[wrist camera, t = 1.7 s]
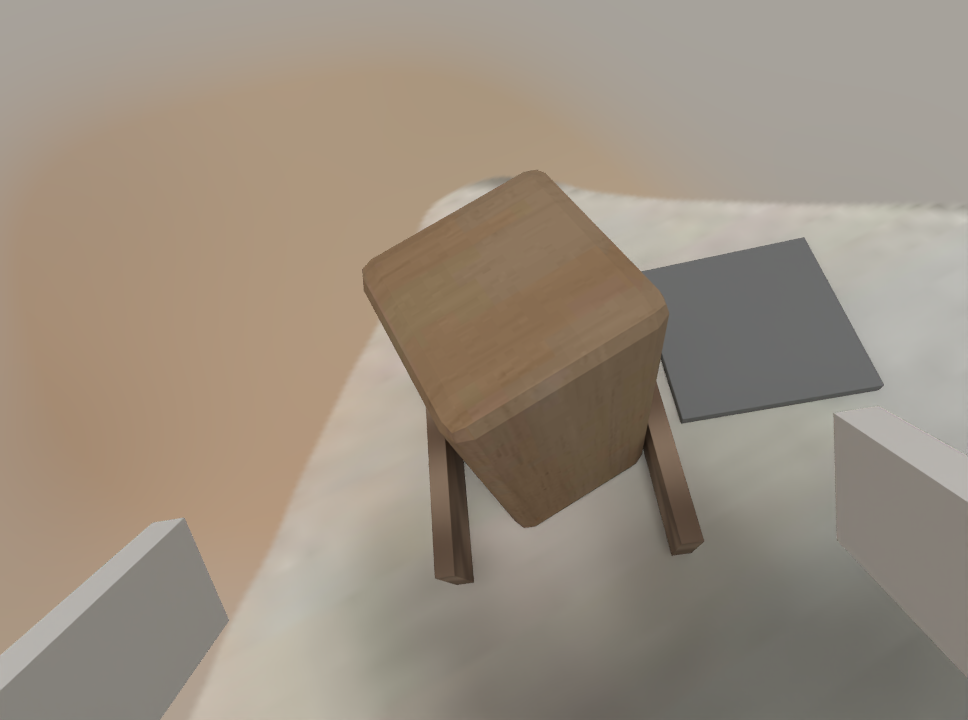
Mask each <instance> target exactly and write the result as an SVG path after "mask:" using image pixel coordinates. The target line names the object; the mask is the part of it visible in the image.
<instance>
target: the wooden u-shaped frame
mask: <svg viewBox="0 0 968 720" xmlns="http://www.w3.org/2000/svg"><path fill="white" fill-rule="evenodd" d="M426 417H427V436H428V455H429V474H430V493H431V513H432V532H433V551H434V570H435V579H439V580H442V581H446V582H449V583H452V584H456V585H459V584H466V583H473V582H474V578H473V567H472V555H471V543H470V532H469V520H468V509H467V497H466V486H465V474H464V462H463V459H462V458H461V457H460V455H459V454H458V453H457V452H456V451H455V449H454V448H453V447H452V446H451V445H450V444H449V442H448V441H447V440H446V439H445V438H444V437H443V435H442V434H441V433H440V432H439V430H438V428H437V426H436V424H435V422H434V421H433V419H432V417H431V415H430V413H429V411H428V409H427V407H426ZM643 449H644V453H645V457H646V461H647V464H648V468H649V472H650V476H651V479H652V483H653V487H654V491H655V494H656V498H657V502H658V506H659V509H660V513H661V517H662V521H663V524H664V528H665V532H666V536H667V539H668V543H669V547H670V551H671V554H672V556H673V555H680V554H687V553H692V552H693V551H694V550H695V549H696V548H697V547H698V546H699V545H701V544H702V543H703V542H704V539H703V536H702V532H701V529H700V526H699V522H698V519H697V516H696V512H695V509H694V506H693V502H692V499H691V496H690V492H689V489H688V486H687V482H686V479H685V476H684V472H683V469H682V466H681V462H680V459H679V456H678V452H677V449H676V446H675V442H674V439H673V436H672V432H671V429H670V426H669V422H668V419H667V416H666V412H665V409H664V406H663V402H662V399H661V396H660V392H659V389H658V386H657V382H656V384H655V389H654V394H653V399H652V404H651V409H650V414H649V420H648V425H647V430H646V435H645V440H644V445H643Z"/></svg>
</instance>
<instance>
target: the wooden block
mask: <svg viewBox="0 0 968 720" xmlns="http://www.w3.org/2000/svg"><path fill="white" fill-rule="evenodd" d="M362 273H363V285H364V292H365V293H366V295H367V297H368V299H369V301H370V302H371V305H372V306H373V308H374V310H375V312H376V314H377V316H378V318H379V320H380V321H381V323H382V325H383V327H384V329H385V331H386V333H387V335H388V336H389V338H390V340H391V342H392V344H393V346H394V348H395V349H396V351H397V353H398V355H399V357H400V359H401V361H402V363H403V364H404V366H405V368H406V370H407V372H408V374H409V376H410V378H411V379H412V381H413V383H414V385H415V387H416V389H417V391H418V392H419V394H420V396H421V398H422V400H423V402H424V404H425V406H426V407H427V409H428V411H429V413H430V415H431V417H432V419H433V421H434V422H435V424H436V426H437V428H438V430H439V432H440V433H441V434H442V435H443V437H444V438H445V439H446V440H447V441H448V442H449V444H450V445H451V446H452V447H453V448H454V449H455V451H456V452H457V453H458V454H459V455H460V457H461V458H462V459H463V460H464V461H465V462H466V464H467V465H468V466H469V467H470V468H471V469H472V471H473V472H474V473H475V474H476V475H477V477H478V478H479V479H480V480H481V481H482V482H483V484H484V485H485V486H486V487H487V488H488V489H489V491H490V492H491V493H492V494H493V495H494V497H495V498H496V499H497V500H498V501H499V502H500V504H501V505H502V506H503V507H504V508H505V509H506V511H507V512H508V513H509V514H510V515H511V517H512V518H513V519H514V520H515V521H516V522H517V523H519V524H520V525H521V526H522V527H524V528H526V527H533V526H536V525H538V524H540V523H541V522H543V521H544V520H546V519H548V518H549V517H551V516H552V515H554V514H556V513H557V512H559V511H560V510H562V509H564V508H565V507H567V506H568V505H570V504H572V503H573V502H575V501H576V500H578V499H580V498H581V497H583V496H584V495H586V494H588V493H589V492H591V491H592V490H594V489H596V488H597V487H599V486H600V485H602V484H604V483H605V482H607V481H608V480H610V479H612V478H613V477H615V476H616V475H618V474H620V473H621V472H623V471H624V470H626V469H628V468H629V467H631V466H632V465H634V464H636V462H637V461H638V459H639V458H640V456H641V455H642V450H643V445H644V440H645V435H646V430H647V425H648V420H649V414H650V409H651V404H652V399H653V394H654V389H655V384H656V379H657V374H658V369H659V364H660V359H661V353H662V348H663V343H664V338H665V333H666V328H667V323H668V318H669V311H668V308H667V305H666V302H665V299H664V296H663V295H662V294H661V292H660V291H659V290H658V289H657V288H656V287H655V285H654V284H653V283H652V282H651V281H650V280H649V279H648V278H647V277H646V276H645V275H644V274H643V273H642V272H641V271H640V270H639V269H638V268H637V267H636V266H635V265H634V264H633V263H632V262H631V261H630V260H629V259H628V258H627V257H626V256H625V255H624V254H623V253H622V252H621V251H620V249H619V248H618V247H617V246H616V245H615V244H614V243H613V242H612V241H611V240H610V239H609V238H608V237H607V236H606V235H605V234H604V233H603V232H602V231H601V230H600V229H599V228H598V227H597V226H596V225H595V224H594V223H593V222H592V221H591V220H590V219H589V218H588V217H587V216H586V215H585V213H584V212H583V211H582V210H581V209H580V208H579V207H578V206H577V205H576V204H575V203H574V202H573V201H572V200H571V199H570V198H569V197H568V196H567V195H566V194H565V193H564V192H563V191H562V190H561V189H560V188H559V187H558V186H557V185H556V184H555V183H554V182H553V181H552V180H551V179H550V178H549V176H548V175H547V174H546V173H544V172H541V171H538V170H533V171H528V172H523V173H521V174H520V175H518V176H516V177H514V178H513V179H511V180H509V181H507V182H506V183H504V184H502V185H500V186H499V187H497V188H495V189H493V190H492V191H490V192H488V193H486V194H485V195H483V196H481V197H479V198H478V199H476V200H474V201H473V202H471V203H469V204H467V205H466V206H464V207H462V208H460V209H459V210H457V211H455V212H453V213H452V214H450V215H448V216H446V217H445V218H443V219H441V220H439V221H438V222H436V223H434V224H432V225H431V226H429V227H427V228H425V229H424V230H422V231H420V232H418V233H417V234H415V235H413V236H411V237H410V238H408V239H406V240H404V241H403V242H401V243H399V244H398V245H396V246H394V247H392V248H390V249H389V250H387V251H385V252H383V253H382V254H380V255H378V256H377V257H375V258H373V259H371V260H370V261H369V263H368V264H367V265H366V266H365V267H364V268H363V269H362Z"/></svg>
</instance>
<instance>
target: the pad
mask: <svg viewBox="0 0 968 720" xmlns="http://www.w3.org/2000/svg"><path fill="white" fill-rule="evenodd" d="M642 273H643V274H644V275H645V276H646V277H647V278H648V279H649V280H650V281H651V282H652V283H653V284H654V285H655V287H656V288H657V289H658V290H659V291H660V292H661V294H662V295H663V296H664V299H665V302H666V305H667V308H668V311H669V318H668V323H667V328H666V333H665V338H664V343H663V348H662V353H661V360H662V363H663V366H664V370H665V373H666V376H667V379H668V382H669V386H670V389H671V392H672V395H673V398H674V402H675V405H676V408H677V411H678V414H679V418H680V421H681V423H687V422H693V421H699V420H705V419H710V418H716V417H722V416H728V415H734V414H740V413H746V412H752V411H758V410H764V409H770V408H775V407H781V406H787V405H793V404H799V403H805V402H811V401H817V400H823V399H829V398H835V397H840V396H846V395H852V394H858V393H864V392H870V391H876V390H879V389H880V388H881V387H883V386H884V384H883V382H882V380H881V378H880V377H879V375H878V373H877V371H876V369H875V367H874V366H873V364H872V362H871V360H870V358H869V356H868V354H867V353H866V351H865V349H864V347H863V345H862V343H861V341H860V340H859V338H858V336H857V334H856V332H855V330H854V329H853V327H852V325H851V323H850V321H849V319H848V317H847V316H846V314H845V312H844V310H843V308H842V306H841V304H840V303H839V301H838V299H837V297H836V295H835V293H834V292H833V290H832V288H831V286H830V284H829V282H828V280H827V279H826V277H825V275H824V273H823V271H822V269H821V268H820V266H819V264H818V262H817V260H816V258H815V256H814V255H813V253H812V251H811V249H810V247H809V245H808V243H807V242H806V240H805V238H804V237H803V238H799V239H794V240H789V241H784V242H780V243H775V244H770V245H765V246H761V247H756V248H751V249H746V250H742V251H737V252H732V253H727V254H723V255H718V256H713V257H708V258H704V259H699V260H694V261H689V262H685V263H680V264H675V265H670V266H666V267H661V268H656V269H651V270H647V271H642Z"/></svg>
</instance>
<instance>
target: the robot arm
mask: <svg viewBox="0 0 968 720" xmlns="http://www.w3.org/2000/svg"><path fill="white" fill-rule="evenodd" d="M833 415H834V453H835V492H836V531H837V541H838V542H839V543H840V544H841V545H842V546H843V547H844V548H845V549H846V550H847V551H848V552H849V553H850V555H851V556H852V557H853V558H854V559H855V560H856V561H857V562H858V563H859V564H860V565H861V566H862V567H863V568H864V569H865V570H866V571H867V572H868V574H869V575H870V576H871V577H872V578H873V579H874V580H875V581H876V582H877V583H878V584H879V585H880V586H881V587H882V588H883V589H884V590H885V592H886V593H887V594H888V595H889V596H890V597H891V598H892V599H893V600H894V601H895V602H896V603H897V604H898V605H899V606H900V607H901V608H902V609H903V611H904V612H905V613H906V614H907V615H908V616H909V617H910V618H911V619H912V620H913V621H914V622H915V623H916V624H917V625H918V626H919V627H920V629H921V630H922V631H923V632H924V633H925V634H926V635H927V636H928V637H929V638H930V639H931V640H932V641H933V642H934V643H935V644H936V645H937V646H938V648H939V649H940V650H941V651H942V652H943V653H944V654H945V655H946V656H947V657H948V658H949V659H950V660H951V661H952V662H953V663H954V664H955V666H956V667H957V668H958V669H959V670H960V671H961V672H962V673H963V674H964V675H965V676H966V677H967V678H968V456H967V455H965V454H964V453H962V452H960V451H958V450H956V449H955V448H953V447H951V446H949V445H947V444H946V443H944V442H942V441H940V440H939V439H937V438H935V437H933V436H931V435H930V434H928V433H926V432H924V431H923V430H921V429H919V428H917V427H915V426H914V425H912V424H910V423H908V422H907V421H905V420H903V419H901V418H899V417H898V416H896V415H894V414H892V413H890V412H889V411H887V410H885V409H883V408H882V407H880V406H873V407H867V408H861V409H855V410H848V411H842V412H836V413H833ZM228 621H229V619H228V617H227V614H226V612H225V610H224V607H223V605H222V603H221V601H220V598H219V596H218V594H217V592H216V589H215V587H214V585H213V582H212V580H211V578H210V576H209V573H208V571H207V568H206V566H205V564H204V562H203V559H202V557H201V555H200V552H199V550H198V548H197V546H196V543H195V541H194V539H193V536H192V534H191V532H190V529H189V527H188V525H187V523H186V520H185V518H179V519H173V520H166V521H160V522H154V523H152V524H150V525H149V526H148V527H147V528H146V529H145V530H143V531H142V532H141V533H140V534H139V535H138V536H137V537H135V538H134V539H133V540H132V541H131V542H130V543H129V544H127V545H126V546H125V547H124V548H123V549H122V550H121V551H119V552H118V553H117V554H116V555H115V556H114V557H112V558H111V559H110V560H109V561H108V562H107V563H106V564H104V565H103V566H102V567H101V568H100V569H99V570H98V571H96V573H94V574H93V575H92V576H91V577H90V578H89V579H87V580H86V581H85V582H84V583H83V584H82V585H80V586H79V587H78V588H77V589H76V590H75V591H73V592H72V593H71V594H70V595H69V596H68V597H67V598H65V599H64V600H63V601H62V602H61V603H60V604H59V605H57V606H56V607H55V608H54V609H53V610H52V611H50V612H49V613H48V614H47V615H46V616H45V617H44V618H43V619H41V620H40V621H39V622H38V623H37V624H36V625H34V626H33V627H32V628H31V629H30V630H29V631H28V632H26V633H25V634H24V635H23V636H22V637H21V638H20V639H18V640H17V641H16V642H15V643H14V644H13V645H11V647H9V648H8V649H7V650H6V651H5V652H4V653H2V654H1V655H0V720H160V719H161V718H162V716H163V715H164V713H165V712H166V711H167V709H168V708H169V706H170V705H171V703H172V702H173V700H174V699H175V698H176V696H177V695H178V693H179V692H180V690H181V689H182V688H183V686H184V685H185V683H186V682H187V680H188V679H189V677H190V676H191V675H192V673H193V672H194V670H195V669H196V667H197V666H198V664H199V663H200V662H201V660H202V659H203V657H204V656H205V654H206V653H207V652H208V650H209V649H210V647H211V646H212V644H213V643H214V641H215V640H216V639H217V637H218V636H219V634H220V633H221V631H222V630H223V629H224V627H225V626H226V624H227V623H228Z"/></svg>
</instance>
